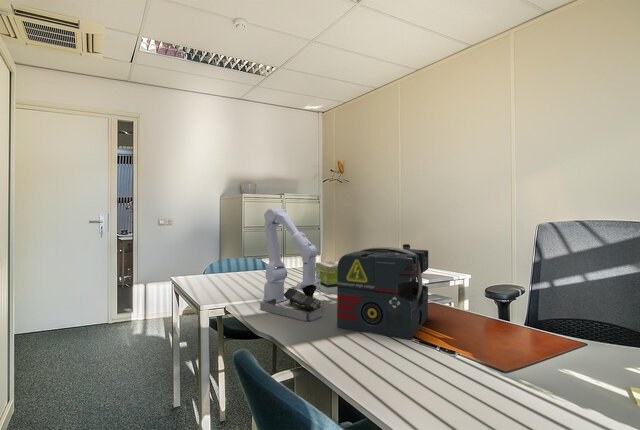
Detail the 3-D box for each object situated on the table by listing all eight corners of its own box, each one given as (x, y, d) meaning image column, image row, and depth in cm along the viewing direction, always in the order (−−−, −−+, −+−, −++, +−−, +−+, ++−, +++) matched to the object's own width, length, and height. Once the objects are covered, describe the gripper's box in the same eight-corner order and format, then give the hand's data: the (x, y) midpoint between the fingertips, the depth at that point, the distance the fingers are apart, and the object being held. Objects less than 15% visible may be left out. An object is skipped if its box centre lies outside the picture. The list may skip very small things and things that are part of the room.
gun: (293, 297, 171) (287, 283, 165) (325, 314, 160) (321, 300, 154) (287, 303, 169) (281, 290, 163) (319, 322, 157) (314, 308, 151)
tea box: (315, 288, 198) (315, 262, 198) (331, 287, 203) (331, 260, 202) (327, 294, 185) (327, 266, 185) (344, 293, 189) (344, 264, 189)
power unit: (336, 327, 135) (337, 247, 134) (363, 309, 159) (363, 241, 158) (411, 340, 122) (412, 251, 121) (428, 318, 146) (429, 244, 145)
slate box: (258, 309, 158) (258, 302, 158) (273, 305, 165) (273, 298, 165) (308, 322, 141) (308, 314, 140) (322, 316, 148) (322, 309, 148)
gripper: (305, 275, 154) (305, 307, 155) (325, 270, 166) (325, 300, 166) (293, 273, 159) (293, 304, 159) (313, 269, 170) (313, 297, 170)
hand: (308, 302), depth 163 cm, fingers closed
